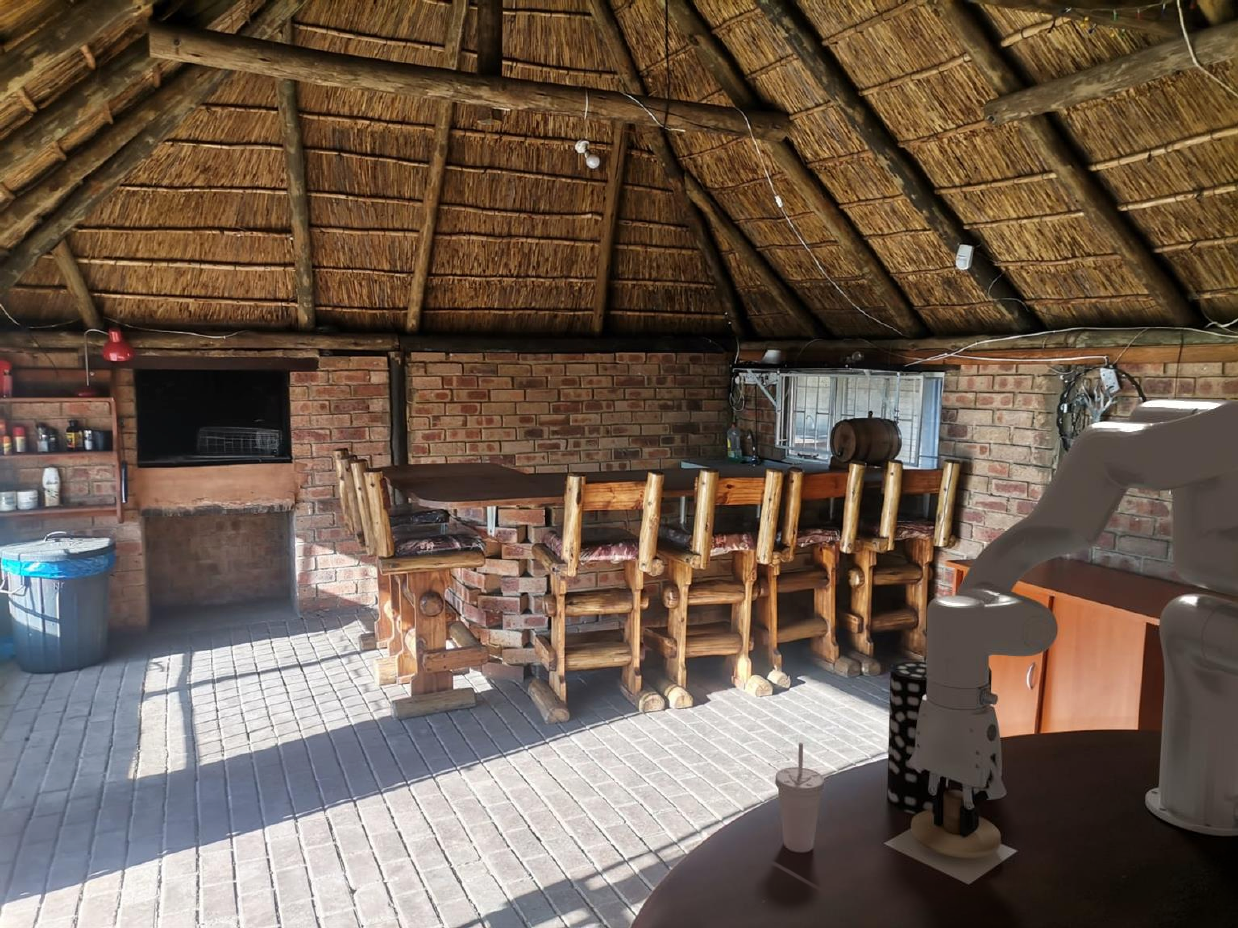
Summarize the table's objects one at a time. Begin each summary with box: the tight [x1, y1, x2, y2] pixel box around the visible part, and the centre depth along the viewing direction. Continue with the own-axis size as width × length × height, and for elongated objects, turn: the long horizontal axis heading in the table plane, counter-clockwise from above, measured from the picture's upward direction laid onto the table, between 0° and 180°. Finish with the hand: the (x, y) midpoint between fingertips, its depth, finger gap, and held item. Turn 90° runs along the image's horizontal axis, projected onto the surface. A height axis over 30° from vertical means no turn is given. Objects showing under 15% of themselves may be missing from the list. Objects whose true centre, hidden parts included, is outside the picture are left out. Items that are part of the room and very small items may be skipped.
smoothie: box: [774, 742, 825, 853], centre depth 114 cm, size 6×6×14 cm
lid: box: [910, 789, 1002, 858], centre depth 113 cm, size 11×11×6 cm
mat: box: [883, 828, 1018, 885], centre depth 114 cm, size 12×12×1 cm
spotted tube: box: [886, 661, 949, 815], centre depth 126 cm, size 8×8×20 cm
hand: (955, 826), depth 114 cm, fingers closed on lid, 3 cm apart
